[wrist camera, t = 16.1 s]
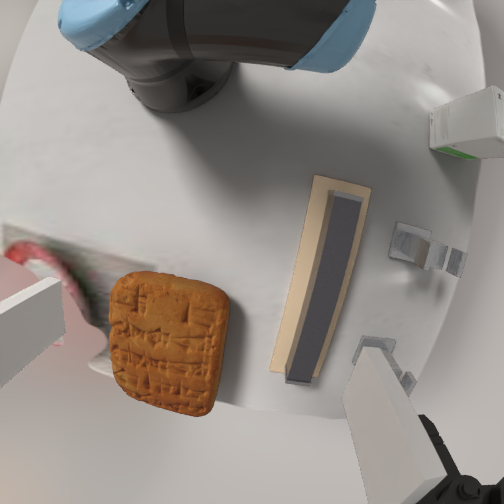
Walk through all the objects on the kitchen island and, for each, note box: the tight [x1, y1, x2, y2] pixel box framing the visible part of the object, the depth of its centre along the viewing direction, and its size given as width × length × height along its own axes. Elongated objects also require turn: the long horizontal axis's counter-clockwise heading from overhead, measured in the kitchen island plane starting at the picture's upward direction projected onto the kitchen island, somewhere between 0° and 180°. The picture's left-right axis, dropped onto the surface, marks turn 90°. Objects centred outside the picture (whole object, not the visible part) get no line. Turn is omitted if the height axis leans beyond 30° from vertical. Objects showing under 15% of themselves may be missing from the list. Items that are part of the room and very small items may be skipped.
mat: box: [269, 175, 371, 377], centre depth 40 cm, size 30×8×1 cm, turn 170°
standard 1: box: [352, 336, 417, 397], centre depth 37 cm, size 5×6×10 cm
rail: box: [284, 190, 364, 386], centre depth 37 cm, size 27×4×4 cm, turn 170°
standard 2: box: [388, 222, 467, 278], centre depth 32 cm, size 5×6×10 cm
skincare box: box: [429, 86, 504, 160], centre depth 26 cm, size 8×7×16 cm
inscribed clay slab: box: [109, 271, 230, 417], centre depth 39 cm, size 22×17×8 cm
